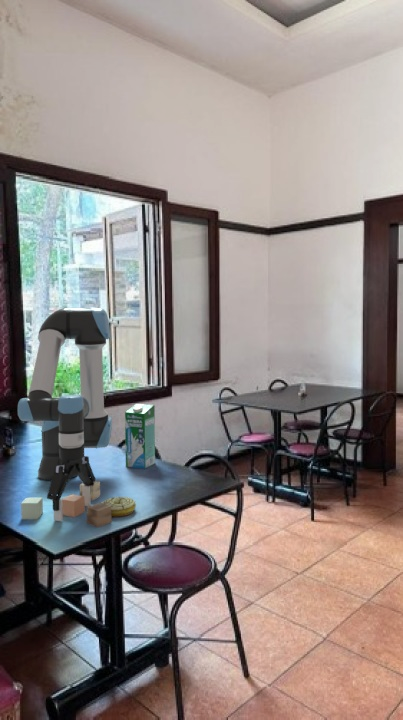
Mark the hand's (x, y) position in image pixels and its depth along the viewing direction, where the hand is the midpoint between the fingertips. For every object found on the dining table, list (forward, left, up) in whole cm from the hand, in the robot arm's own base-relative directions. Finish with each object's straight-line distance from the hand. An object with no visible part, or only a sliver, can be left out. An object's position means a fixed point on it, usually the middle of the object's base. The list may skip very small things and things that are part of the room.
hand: (73, 513), depth 159 cm
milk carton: (-9, +55, 0) cm, 56 cm away
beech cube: (-4, +14, 0) cm, 15 cm away
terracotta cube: (0, 0, 0) cm, 0 cm away
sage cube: (-10, -7, 0) cm, 12 cm away
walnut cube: (+12, -3, 0) cm, 12 cm away
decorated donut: (+12, +7, -1) cm, 14 cm away
